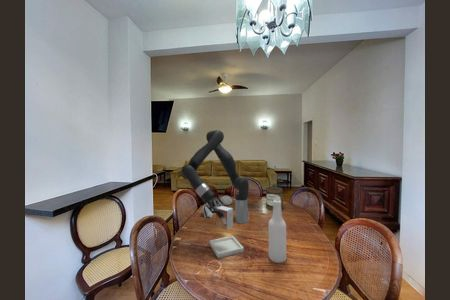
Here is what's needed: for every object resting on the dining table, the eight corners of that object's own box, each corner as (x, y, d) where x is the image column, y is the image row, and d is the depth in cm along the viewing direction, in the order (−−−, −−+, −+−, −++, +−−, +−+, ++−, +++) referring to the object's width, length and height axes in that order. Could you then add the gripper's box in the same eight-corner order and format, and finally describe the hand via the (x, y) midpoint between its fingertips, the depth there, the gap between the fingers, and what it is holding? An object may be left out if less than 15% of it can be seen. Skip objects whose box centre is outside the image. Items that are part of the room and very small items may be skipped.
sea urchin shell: (234, 202, 196) (233, 194, 196) (230, 206, 183) (230, 198, 183) (221, 201, 200) (221, 193, 200) (217, 205, 187) (217, 197, 186)
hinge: (210, 218, 155) (206, 206, 156) (205, 219, 156) (201, 207, 157) (216, 210, 171) (212, 200, 172) (211, 212, 172) (207, 201, 173)
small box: (215, 226, 110) (215, 207, 109) (222, 222, 114) (221, 205, 114) (227, 230, 105) (227, 210, 104) (233, 226, 109) (233, 208, 109)
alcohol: (273, 251, 106) (272, 197, 105) (288, 257, 100) (288, 200, 99) (265, 259, 99) (265, 201, 98) (282, 265, 94) (281, 204, 93)
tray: (232, 239, 120) (232, 235, 119) (243, 252, 106) (243, 247, 106) (209, 244, 114) (209, 240, 114) (217, 258, 100) (217, 253, 100)
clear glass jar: (263, 209, 174) (263, 185, 174) (269, 204, 187) (269, 182, 186) (280, 212, 166) (280, 186, 166) (284, 207, 179) (284, 183, 178)
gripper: (203, 191, 105) (224, 215, 102) (213, 185, 119) (232, 206, 115) (195, 200, 107) (214, 223, 104) (206, 193, 121) (223, 214, 117)
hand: (223, 214), depth 110 cm, fingers closed on small box, 7 cm apart
